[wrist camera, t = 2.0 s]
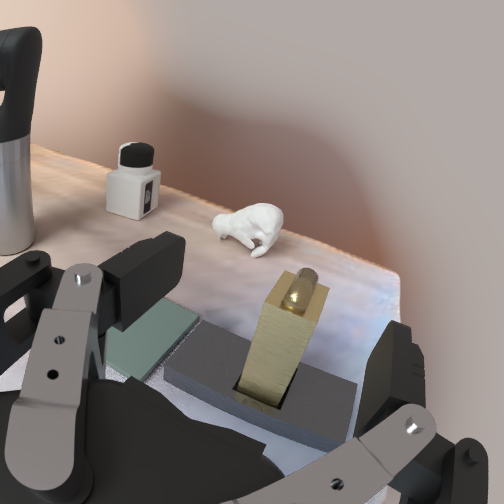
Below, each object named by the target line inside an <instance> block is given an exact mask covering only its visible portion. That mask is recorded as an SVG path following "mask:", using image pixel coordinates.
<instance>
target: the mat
mask: <svg viewBox="0 0 504 504" xmlns="http://www.w3.org/2000/svg"><path fill="white" fill-rule="evenodd" d="M198 320H199V315H198V314H196V313H194V312H192V311H190V310H188V309H186V308H184V307H182V306H180V305H177V304H175V303H173V302H171V301H169V300H167V299H165V298H162V299H161V300H160V301H158V302H157V303H156V304H155V305H154V306H153V307H151V308H150V309H149V310H148V311H147V312H146V313H145V314H143V315H142V316H141V317H140V318H139V319H138V320H136V321H135V322H134V323H133V324H132V325H131V326H130V327H128V328H127V329H126V330H125V331H124V332H123V333H122V332H121V331H119V330H117V329H116V328H114V327H113V326H112V327H111V328H109V329H108V330H107V331H108V340H107V353H106V364H107V365H109V366H110V367H112V368H113V369H115V370H116V371H118V372H119V373H121V374H122V375H124V376H125V377H127V378H129V377H130V376H133V377H135V378H136V379H138V380H139V381H141V382H143V381H144V380H145V379H146V378H147V377H148V375H149V374H150V373H151V372H152V371H153V370H154V369H155V368H156V367H157V366H158V364H159V363H160V362H161V361H162V360H163V359H164V358H165V357H166V356H167V354H168V353H169V352H170V351H171V350H172V349H173V348H174V347H175V346H176V344H177V343H178V342H179V341H180V340H181V339H182V338H183V337H184V336H185V334H186V333H187V332H188V331H189V330H190V329H191V328H192V327H193V326H194V324H195V323H196V322H197V321H198Z"/></svg>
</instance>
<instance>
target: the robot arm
mask: <svg viewBox="0 0 504 504" xmlns="http://www.w3.org/2000/svg"><path fill="white" fill-rule="evenodd" d="M41 54H42V36H41V33H40V31H39V30H38V29H37V28H36V27H20V28H14V29H8V30H2V31H0V91H5V95H4V100H3V103H2V105H1V106H0V255H11V254H15V253H18V252H21V251H23V250H25V249H26V248H28V247H29V246H30V245H31V244H32V243H33V242H34V240H35V226H34V216H33V204H32V189H31V169H30V130H31V120H32V114H33V108H34V99H35V90H36V83H37V78H38V72H39V67H40V61H41ZM185 244H186V242H185V239H184V238H183V237H181V236H178V235H176V234H173V233H171V232H168V231H166V232H164V233H162V234H160V235H158V236H157V237H155V238H153V239H152V238H150V239H146V240H142V241H138V242H137V243H135V244H133V245H132V246H130V248H126V249H125V250H123V251H122V253H121V252H120V253H118V254H116V255H115V256H113V257H111V258H110V259H108V260H106V261H105V262H103V263H102V264H100V265H98V266H95V265H92V264H76V265H73V266H71V267H69V268H68V269H67V270H66V271H65V270H62V269H58V268H55V267H52V266H51V258H50V255H49V254H48V253H46V252H44V251H39V250H35V251H29V252H26V253H24V254H22V255H20V256H19V257H17V258H15V259H14V260H12V261H10V262H9V263H7V264H5V265H4V266H2V267H0V375H2V374H3V373H4V372H5V371H6V370H7V369H8V368H9V367H10V366H12V365H13V364H14V363H15V362H16V361H17V360H18V359H19V358H21V357H22V356H23V355H24V354H25V353H26V352H27V351H29V350H30V349H31V351H30V355H29V359H28V362H27V366H26V370H25V375H24V379H23V383H22V388H21V390H14V391H5V392H0V504H364V503H365V502H366V501H368V500H369V499H370V498H371V497H373V496H374V495H375V494H376V493H378V492H379V491H380V490H381V489H382V488H384V487H385V486H386V485H389V486H390V487H392V488H394V489H395V490H397V491H399V492H400V493H401V498H400V502H399V504H487V502H488V456H487V452H486V450H485V449H484V447H483V446H482V444H481V443H479V442H478V441H477V440H475V439H472V438H464V439H462V440H460V441H459V442H458V443H457V444H456V445H455V444H453V443H452V442H450V441H448V440H447V439H445V438H444V437H442V436H440V435H439V434H437V433H436V423H435V420H434V418H433V416H432V415H431V414H430V412H428V411H427V410H426V404H425V379H424V377H425V371H424V356H423V354H422V352H421V350H420V348H419V346H418V345H417V344H414V343H412V339H411V338H412V337H411V328H410V327H409V326H406V325H404V324H401V323H398V322H396V321H393V320H391V321H390V322H389V324H388V325H387V327H386V329H385V330H384V332H383V334H382V336H381V337H380V339H379V341H378V342H377V344H376V346H375V347H374V349H373V351H372V352H371V354H370V357H369V359H368V362H367V365H366V370H365V377H364V383H363V389H362V394H361V400H360V405H359V410H358V415H357V420H356V425H355V430H354V434H353V438H352V439H350V440H349V441H347V442H346V443H344V444H342V445H341V446H339V447H338V448H336V449H334V450H333V451H331V452H329V453H328V454H326V455H324V456H323V457H321V458H319V459H318V460H316V461H314V462H312V463H311V464H309V465H307V466H305V467H303V468H302V469H300V470H298V471H296V472H294V473H292V474H290V475H289V476H287V477H285V476H284V474H283V473H282V471H281V470H280V469H279V468H278V467H277V466H276V465H275V464H274V463H273V462H272V461H271V460H270V459H269V458H267V457H266V456H264V455H263V454H262V453H263V451H264V449H265V447H266V444H264V443H262V442H259V441H257V440H254V439H252V438H250V437H247V436H245V435H243V434H240V433H238V432H236V431H234V430H232V429H228V428H224V427H220V426H215V425H211V424H207V423H203V422H200V421H196V420H192V419H190V418H188V417H187V416H186V415H184V414H183V413H182V412H181V411H180V410H179V409H178V408H177V407H175V406H174V405H173V404H172V403H171V402H170V401H169V400H168V399H167V398H166V397H164V396H163V395H162V394H161V393H160V392H158V391H156V390H155V389H153V388H151V387H149V386H148V385H146V384H144V383H143V382H141V381H139V380H138V379H136V378H135V377H133V376H130V377H129V378H128V379H127V380H126V381H125V382H124V383H122V382H119V381H114V380H108V379H105V368H106V353H107V340H108V331H107V330H108V329H109V328H111V327H112V326H113V327H114V328H116V329H117V330H119V331H121V332H122V333H123V332H124V331H125V330H126V329H127V328H128V327H130V326H131V325H132V324H133V323H134V322H135V321H136V320H138V319H139V318H140V317H141V316H142V315H143V314H145V313H146V312H147V311H148V310H149V309H150V308H151V307H153V306H154V305H155V304H156V303H157V302H158V301H160V300H161V299H162V298H163V297H164V296H165V295H166V294H168V293H169V292H170V291H171V290H172V289H173V288H175V287H176V285H177V284H178V283H179V281H180V278H181V276H182V270H183V261H184V253H185ZM23 296H24V300H25V304H26V307H25V308H24V309H23V310H21V311H20V312H19V313H17V314H16V315H15V316H13V317H12V318H11V319H9V320H8V321H7V322H6V323H5V322H4V312H5V310H6V309H7V308H8V307H9V306H10V305H12V304H13V303H14V302H16V301H17V300H18V299H20V298H21V297H23Z"/></svg>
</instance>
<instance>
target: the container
mask: <svg viewBox="0 0 504 504" xmlns="http://www.w3.org/2000/svg"><path fill="white" fill-rule="evenodd" d="M153 156H154V148H153V147H152V146H150V145H148V144H145V143H139V142H130V143H126V144H123V145H122V146H121V147H120V148H119V159H118V168H119V169H116V170H114V171H112V172H109V173H108V174H107V190H106V211H108V212H111V213H114V214H117V215H121V216H124V217H127V218H131V219H134V220H137V221H139V220H140V219H141V218H143V217H144V216H145V215H147V214H148V213H150V212H151V211H152V210H154V209H155V208H157V206H158V196H159V186H160V177H161V172H160V171H157V170H153V169H152V165H153Z"/></svg>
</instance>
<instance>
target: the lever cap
mask: <svg viewBox="0 0 504 504" xmlns="http://www.w3.org/2000/svg"><path fill="white" fill-rule="evenodd" d="M317 282H318V275H317V273H316V272H315V271H314V270H312V269H310V268H303V269H301V270H299V271H298V273H297V275H295V274H293V273H290V272H288V271H284V272H283V274H282V275H281V277H280V278H279V280H278V281H277V283H276V285H275V286H274V288H273V289H272V291H271V292H270V294H269V295H268V297H267V298H266V300H265V301H264V304H263V307H262V311H261V314H260V317H259V321H258V324H257V327H256V330H255V334H254V337H253V340H252V343H251V347H250V350H249V353H248V356H247V360H246V363H245V366H244V369H243V372H242V375H241V379H240V382H239V385H238V388H237V392H239V393H241V394H243V395H245V396H248V397H250V398H252V399H254V400H257V401H259V402H261V403H264V404H266V405H268V406H271V407H273V408H277V406H278V404H279V402H280V400H281V398H282V396H283V394H284V392H285V390H286V388H287V386H288V384H289V382H290V380H291V378H292V376H293V374H294V372H295V370H296V368H297V366H298V364H299V362H300V360H301V358H302V355H303V353H304V351H305V349H306V347H307V345H308V343H309V340H310V338H311V336H312V334H313V332H314V329H315V327H316V325H317V323H318V320H319V317H320V314H321V312H322V309H323V306H324V303H325V300H326V297H327V294H328V291H329V289H330V288H328V287H326V286H323V285H321V284H318V283H317Z"/></svg>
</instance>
